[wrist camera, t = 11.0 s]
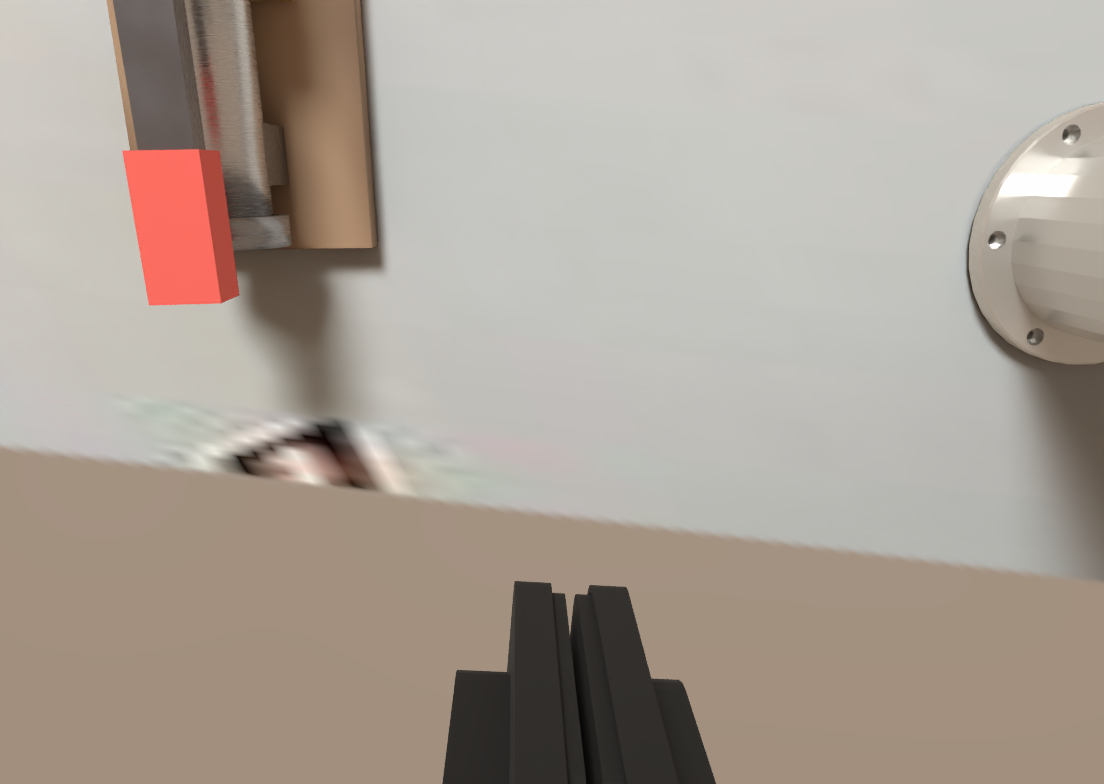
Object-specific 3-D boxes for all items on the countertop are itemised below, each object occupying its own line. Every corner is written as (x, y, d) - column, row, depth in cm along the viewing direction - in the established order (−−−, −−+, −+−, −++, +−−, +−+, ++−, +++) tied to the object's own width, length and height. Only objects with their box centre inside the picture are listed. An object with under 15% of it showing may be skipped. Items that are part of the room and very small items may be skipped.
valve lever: (91, -199, 23) (56, -229, 21) (171, -199, 23) (143, -229, 21) (172, 296, 27) (149, 305, 25) (239, 295, 27) (221, 303, 26)
